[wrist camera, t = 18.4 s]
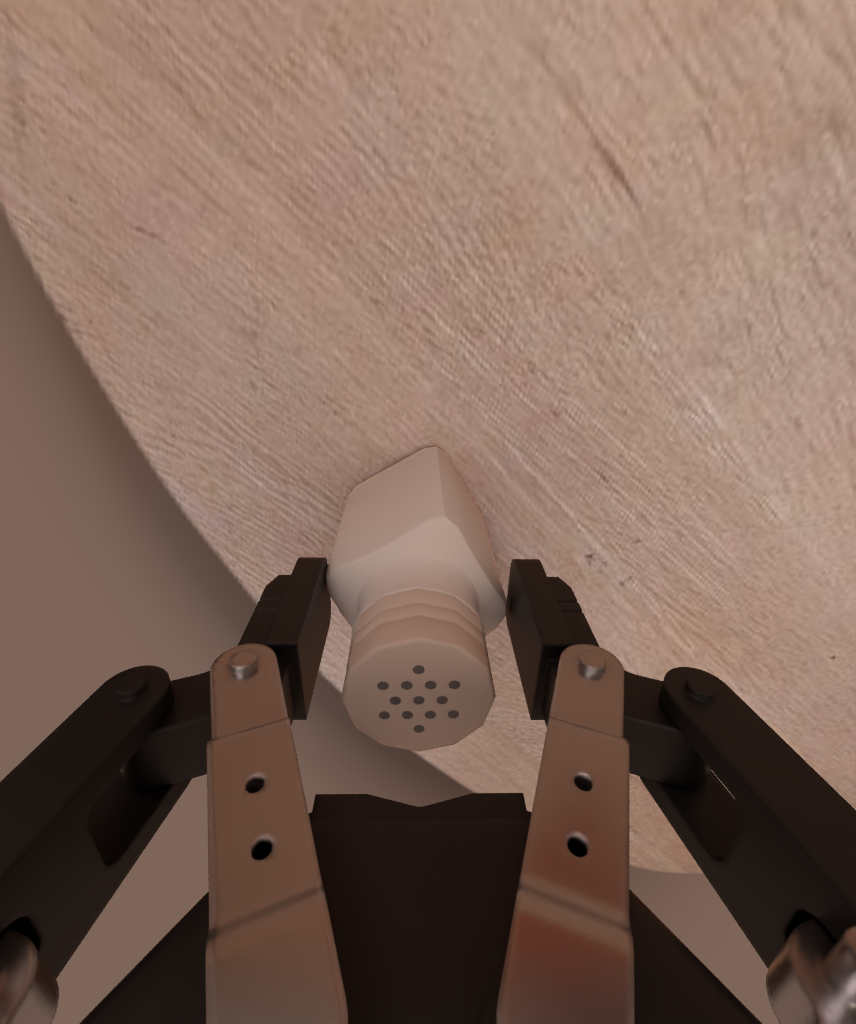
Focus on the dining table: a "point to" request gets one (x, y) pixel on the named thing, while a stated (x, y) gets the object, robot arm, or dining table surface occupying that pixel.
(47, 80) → the dining table surface
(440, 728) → the pepper shaker
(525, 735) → the dining table surface
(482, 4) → the dining table surface
